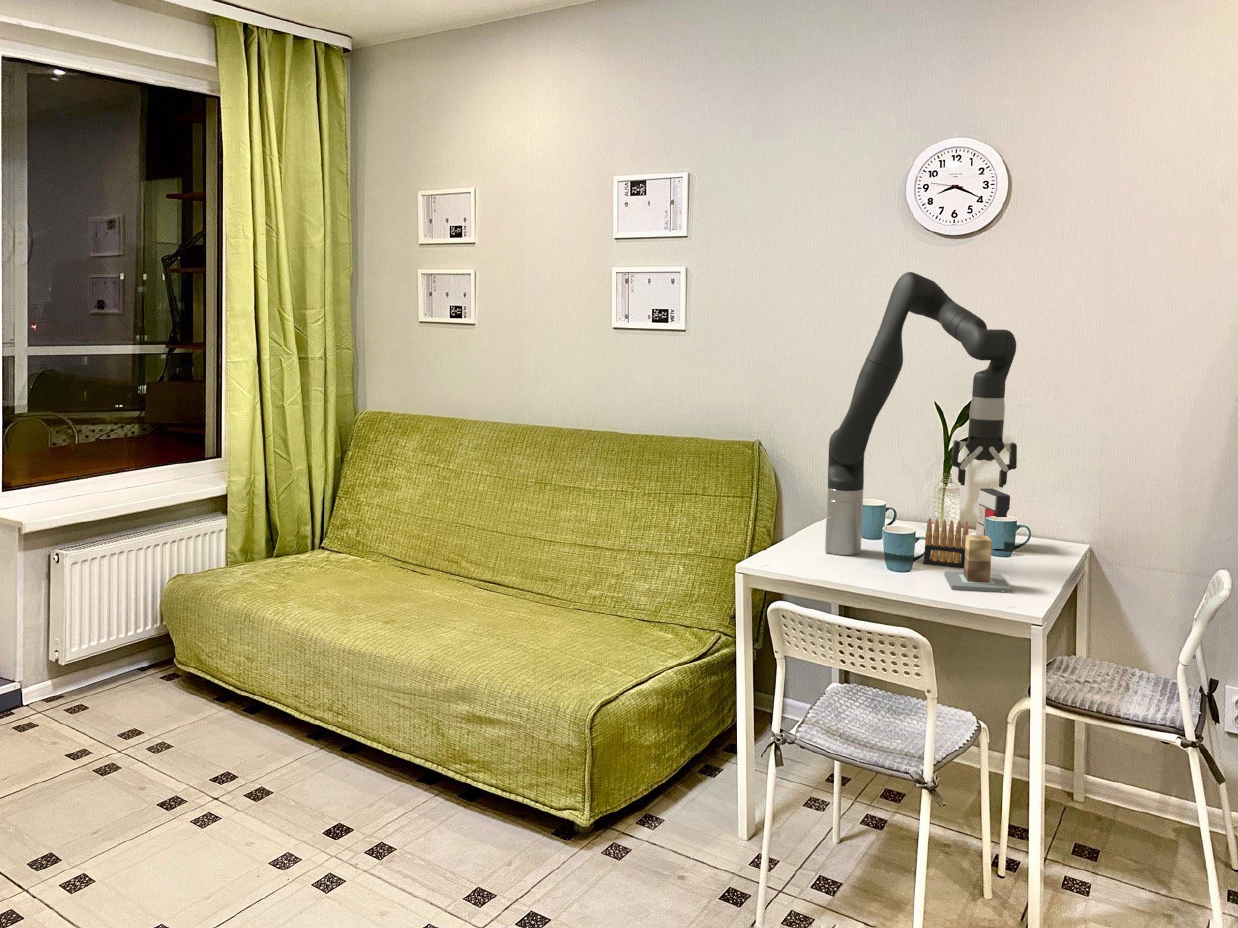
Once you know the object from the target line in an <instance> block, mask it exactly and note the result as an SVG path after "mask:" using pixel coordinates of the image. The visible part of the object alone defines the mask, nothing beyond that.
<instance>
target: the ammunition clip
mask: <svg viewBox="0 0 1238 928" xmlns="http://www.w3.org/2000/svg"><path fill="white" fill-rule="evenodd" d="M948 526H949V527H948V529H947V521H946V519H943V521H942V523H941V530H940V521H939V518H936V519H935V522H934V526H933V523H932V518H931V517H929V518H928V520H927V524H926V532H925V541H924V552H923V562H922V565H926V566H933V567H934V566H935V567H943V568H944V567H946V568H953V569H954V568H955V569H962V570H964V565H965V543H966V535H969V524H968V520H966V521H965V522H964V524H963V530H962V524H961V521H960V520H958V521H957V523H956V527H955V528H954V526H955V525H954V520H953V519H951V520H950V522H949V525H948ZM933 527H934V528H933ZM947 530H948V533H947ZM954 531H955V532H954ZM962 531H963V532H962Z"/></svg>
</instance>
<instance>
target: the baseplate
mask: <svg viewBox="0 0 1238 928" xmlns="http://www.w3.org/2000/svg"><path fill="white" fill-rule="evenodd" d="M943 572H944V574H943V575H944V577H945V579H946V581H947V583H948V585H949V588H950V589H951V590H952V591H970V592H971V591H972V592H987V591H989V592H988V593H990V592H991V593H996V592H995V591H1000V592H999V593H1002V592H1001V591H1004V592H1003V593H1006V592H1011V593H1012V588H1011V586H1010V585H1009V584H1008V583H1007V581H1006V579H1005V578H1004V577H1003V575H1002V574H1001V573H994V572H993V573H992V572H990V583H989V582H968V581H967V580H966V579H965V577H964V571H950V570H945V571H943ZM993 591H994V592H993Z"/></svg>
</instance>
